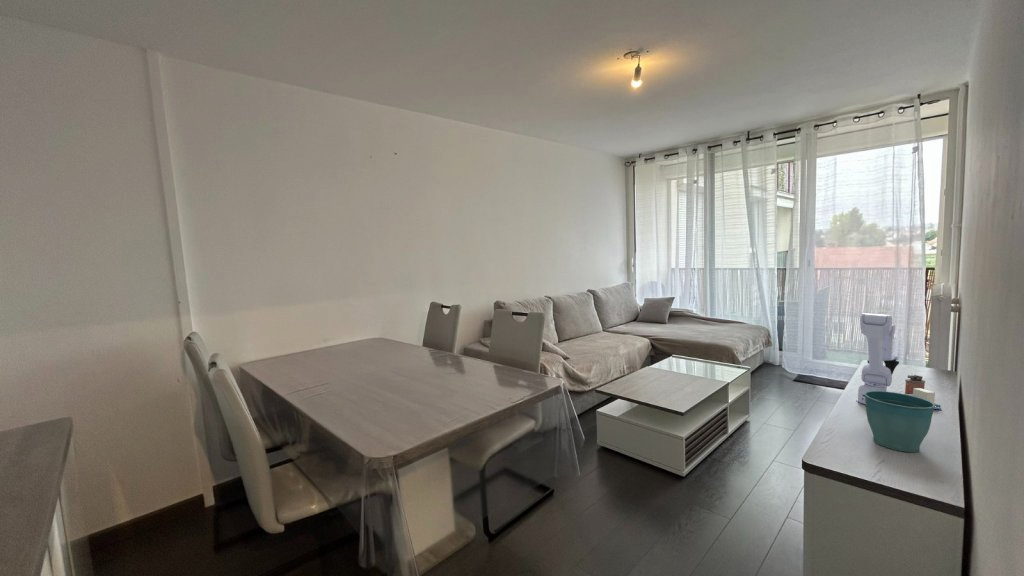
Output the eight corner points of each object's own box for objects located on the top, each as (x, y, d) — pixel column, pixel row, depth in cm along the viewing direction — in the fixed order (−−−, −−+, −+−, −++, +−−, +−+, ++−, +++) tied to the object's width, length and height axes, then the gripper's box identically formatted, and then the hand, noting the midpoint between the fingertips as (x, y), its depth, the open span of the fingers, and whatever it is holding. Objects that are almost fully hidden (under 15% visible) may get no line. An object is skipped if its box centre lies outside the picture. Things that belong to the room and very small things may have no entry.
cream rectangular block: (926, 407, 179) (927, 392, 179) (912, 403, 185) (913, 388, 185) (933, 407, 180) (934, 392, 179) (919, 403, 185) (920, 388, 185)
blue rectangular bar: (930, 410, 177) (930, 408, 177) (927, 409, 178) (927, 407, 178) (940, 409, 177) (941, 408, 177) (938, 408, 178) (938, 407, 178)
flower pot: (861, 429, 157) (863, 387, 156) (927, 443, 145) (930, 397, 144) (862, 446, 143) (865, 400, 142) (935, 462, 131) (939, 412, 130)
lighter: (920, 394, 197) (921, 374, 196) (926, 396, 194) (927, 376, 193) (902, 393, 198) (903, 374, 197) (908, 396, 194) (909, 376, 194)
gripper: (880, 350, 187) (878, 378, 188) (905, 348, 189) (904, 377, 191) (864, 347, 194) (863, 374, 195) (889, 345, 196) (888, 372, 197)
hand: (882, 375), depth 193 cm, fingers open, 7 cm apart
